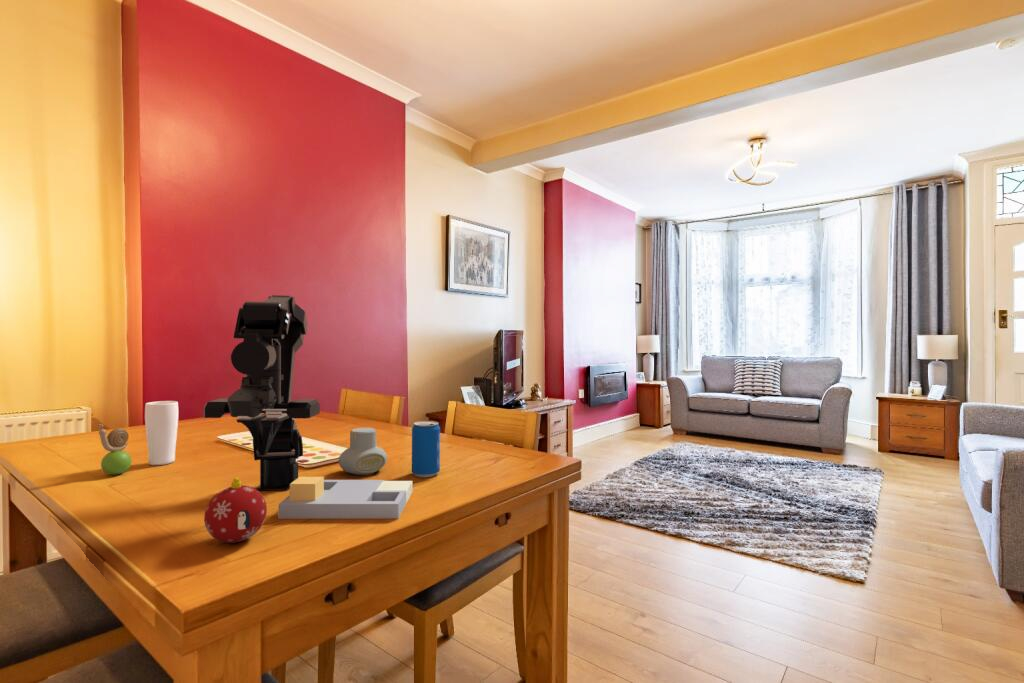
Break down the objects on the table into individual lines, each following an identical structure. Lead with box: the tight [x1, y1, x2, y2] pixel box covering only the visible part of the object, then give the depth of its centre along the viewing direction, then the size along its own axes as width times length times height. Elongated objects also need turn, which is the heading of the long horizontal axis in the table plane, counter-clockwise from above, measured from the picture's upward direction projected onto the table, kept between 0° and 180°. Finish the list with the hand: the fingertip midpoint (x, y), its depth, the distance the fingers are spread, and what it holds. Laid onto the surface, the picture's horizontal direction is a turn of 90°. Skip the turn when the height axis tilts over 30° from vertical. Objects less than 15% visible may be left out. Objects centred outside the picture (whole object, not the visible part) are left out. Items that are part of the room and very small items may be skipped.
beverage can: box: [411, 420, 441, 478], centre depth 116 cm, size 6×6×12 cm
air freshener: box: [338, 427, 388, 476], centre depth 117 cm, size 11×8×10 cm
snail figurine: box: [97, 423, 133, 476], centre depth 112 cm, size 5×6×12 cm
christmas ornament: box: [203, 476, 268, 544], centre depth 78 cm, size 9×9×10 cm
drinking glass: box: [144, 400, 180, 466], centre depth 122 cm, size 7×7×15 cm
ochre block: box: [289, 476, 325, 501], centre depth 92 cm, size 4×4×3 cm
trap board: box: [278, 479, 414, 520], centre depth 95 cm, size 21×15×3 cm
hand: (263, 455), depth 91 cm, fingers closed
